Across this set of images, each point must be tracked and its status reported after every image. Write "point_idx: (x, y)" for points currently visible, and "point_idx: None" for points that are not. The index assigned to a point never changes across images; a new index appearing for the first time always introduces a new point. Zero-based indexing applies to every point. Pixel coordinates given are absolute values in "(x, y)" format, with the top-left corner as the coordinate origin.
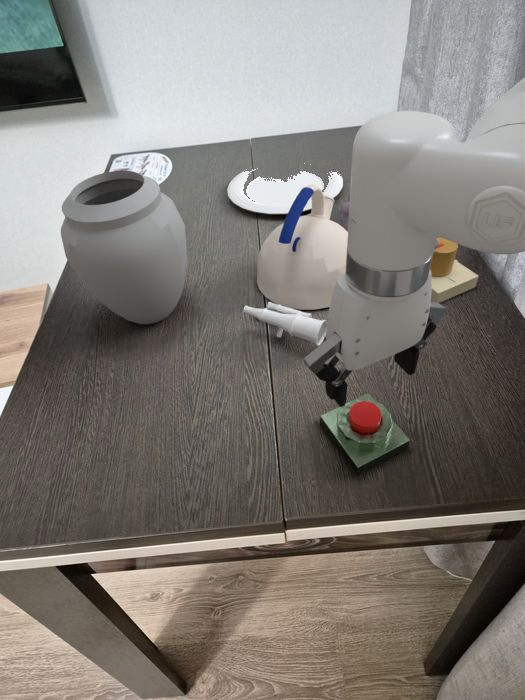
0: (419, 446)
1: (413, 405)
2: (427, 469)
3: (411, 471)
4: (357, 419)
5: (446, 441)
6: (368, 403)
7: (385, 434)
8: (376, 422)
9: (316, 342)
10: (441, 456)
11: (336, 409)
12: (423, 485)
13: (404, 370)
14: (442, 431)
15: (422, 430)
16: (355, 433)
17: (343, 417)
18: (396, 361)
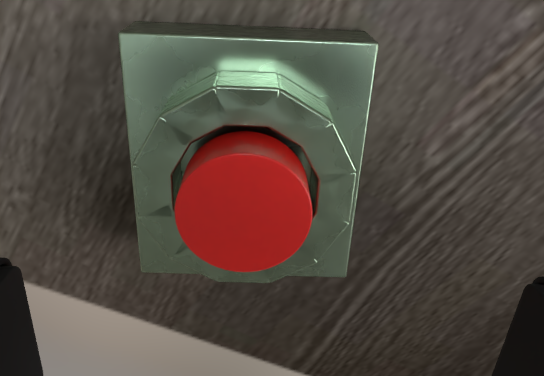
0: (374, 254)
1: (487, 135)
2: (336, 308)
3: (297, 295)
4: (195, 224)
5: (448, 276)
6: (290, 183)
7: (271, 275)
8: (256, 266)
9: None
10: (397, 299)
11: (201, 43)
12: (295, 331)
13: (500, 362)
14: (469, 249)
15: (426, 220)
16: (176, 225)
17: (173, 145)
18: (526, 306)
